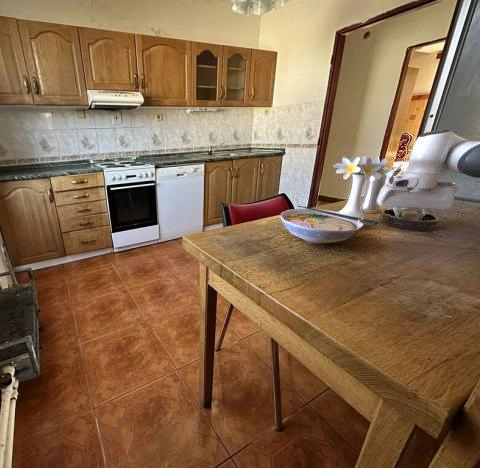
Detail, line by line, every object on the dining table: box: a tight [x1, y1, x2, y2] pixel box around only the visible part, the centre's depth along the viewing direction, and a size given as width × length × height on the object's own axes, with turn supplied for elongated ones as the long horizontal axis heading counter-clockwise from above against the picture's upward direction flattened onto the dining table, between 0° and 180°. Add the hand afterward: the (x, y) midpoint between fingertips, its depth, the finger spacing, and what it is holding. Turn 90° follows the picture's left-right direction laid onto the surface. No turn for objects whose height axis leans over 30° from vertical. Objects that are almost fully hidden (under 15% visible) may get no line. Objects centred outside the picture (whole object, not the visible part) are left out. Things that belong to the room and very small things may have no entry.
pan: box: [378, 208, 440, 232], centre depth 93 cm, size 16×16×4 cm
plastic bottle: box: [360, 165, 387, 214], centre depth 105 cm, size 6×7×20 cm
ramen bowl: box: [279, 205, 380, 245], centre depth 82 cm, size 25×23×8 cm
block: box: [399, 209, 421, 221], centre depth 92 cm, size 4×4×4 cm
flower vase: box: [332, 154, 403, 225], centre depth 88 cm, size 13×18×25 cm
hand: (407, 219), depth 93 cm, fingers closed on block, 4 cm apart
